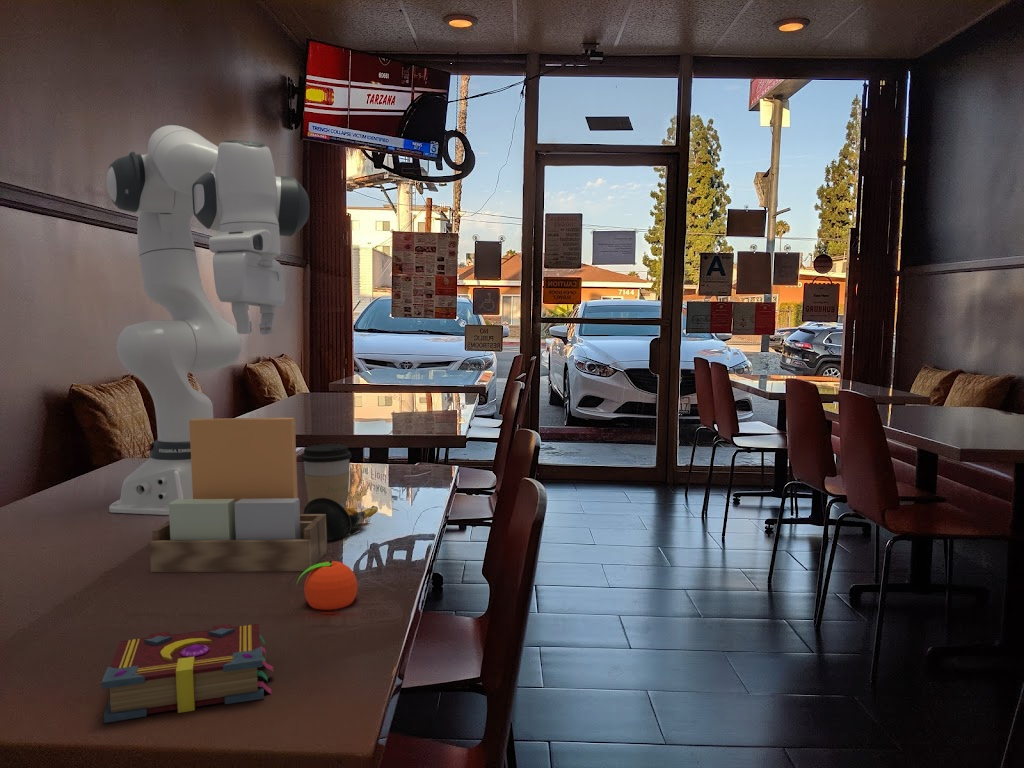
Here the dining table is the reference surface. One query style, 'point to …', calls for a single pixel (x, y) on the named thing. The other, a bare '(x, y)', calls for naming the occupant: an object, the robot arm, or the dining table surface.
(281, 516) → the offcut slate
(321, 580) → the clementine
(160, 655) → the decorative book
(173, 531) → the offcut sage
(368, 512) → the fried shrimp in bowl
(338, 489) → the coffee cup
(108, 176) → the robot arm
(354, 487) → the dining table surface
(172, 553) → the rack
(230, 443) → the tall sheet
